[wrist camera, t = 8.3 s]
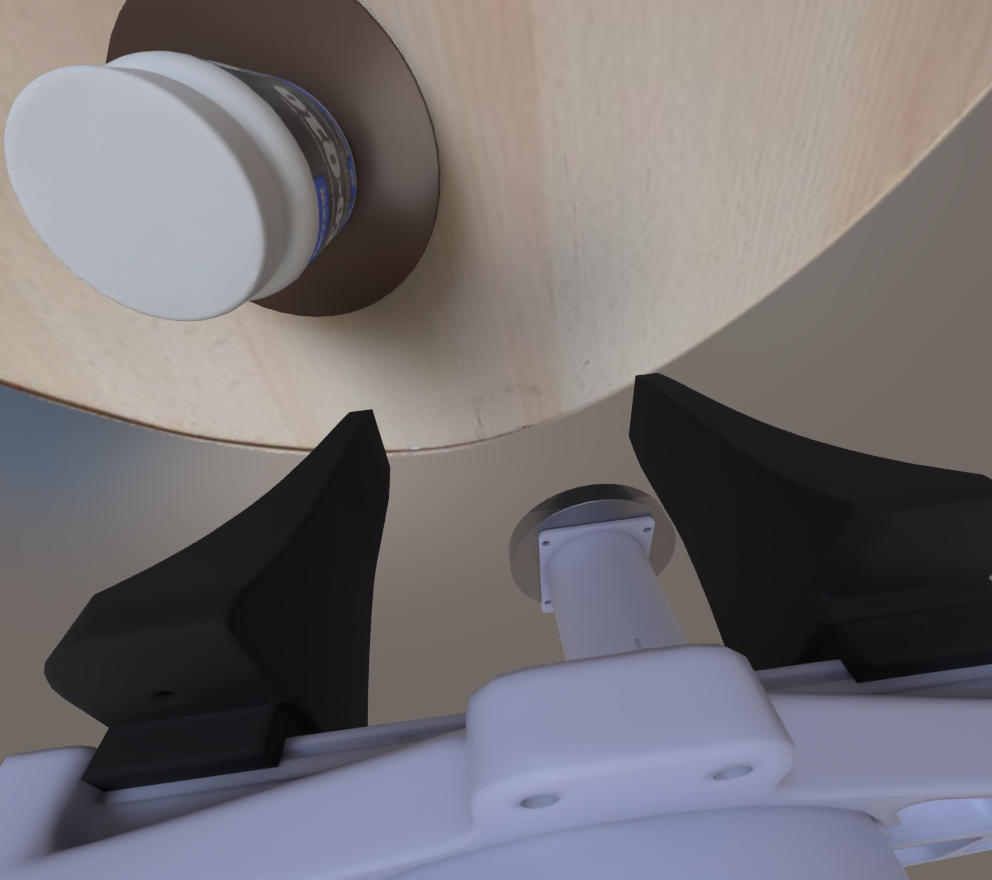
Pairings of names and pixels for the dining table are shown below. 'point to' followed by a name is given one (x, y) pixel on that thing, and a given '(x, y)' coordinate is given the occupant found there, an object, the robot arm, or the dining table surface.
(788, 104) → the dining table surface
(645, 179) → the dining table surface
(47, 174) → the pill bottle
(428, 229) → the stand
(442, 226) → the dining table surface
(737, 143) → the dining table surface
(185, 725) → the robot arm
